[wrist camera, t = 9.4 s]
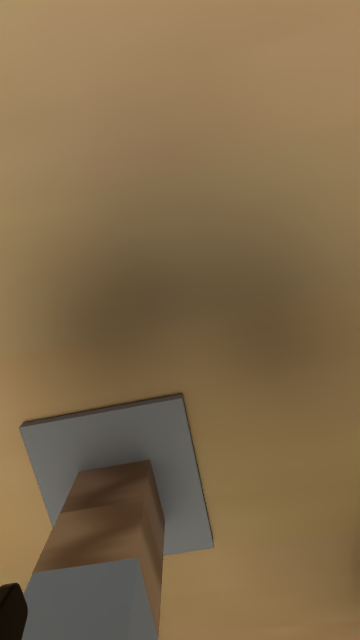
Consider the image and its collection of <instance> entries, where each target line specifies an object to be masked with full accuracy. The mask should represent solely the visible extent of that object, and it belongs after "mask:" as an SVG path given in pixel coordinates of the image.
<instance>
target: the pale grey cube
mask: <svg viewBox="0 0 360 640" xmlns="http://www.w3.org/2000/svg"><path fill="white" fill-rule="evenodd" d="M23 595H24V597H25V600H26V603H27V606H28V616H27V621H26V625H25V628H24V632H23V636H22V640H158V637H157V633H156V629H155V624H154V620H153V616H152V612H151V608H150V604H149V600H148V596H147V592H146V588H145V584H144V580H143V576H142V572H141V568H140V564H139V560H138V558H135V559H127V560H120V561H113V562H106V563H99V564H92V565H84V566H77V567H70V568H63V569H56V570H49V571H41V572H34V573H33V575H32V577H31V579H30V581H29V583H28V586H27V588H26V590H25V592H24V594H23Z"/></svg>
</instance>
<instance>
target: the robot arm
mask: <svg viewBox="0 0 360 640" xmlns="http://www.w3.org/2000/svg"><path fill="white" fill-rule="evenodd" d="M27 616H28V606H27V603H26V600H25V597H24V595H23V592H22V590H21V587H20V585H19V584H18V583H11V584H5V585H2V586H1V587H0V640H22V636H23V632H24V628H25V625H26V621H27Z"/></svg>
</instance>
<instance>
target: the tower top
mask: <svg viewBox="0 0 360 640" xmlns="http://www.w3.org/2000/svg"><path fill="white" fill-rule="evenodd" d="M135 558H138V560H139V564H140V568H141V572H142V576H143V580H144V584H145V588H146V592H147V596H148V600H149V604H150V608H151V612H152V616H153V620H154V624H155V629H156V633H157V637H159V620H160V602H161V585H162V565H161V561H160V557H159V554H158V550H157V546H156V542H155V538H154V534H153V530H152V527H151V523H150V519H149V515H148V511H147V507H146V503H145V500H144V499H142V500H136V501H130V502H124V503H118V504H112V505H106V506H100V507H94V508H88V509H83V510H77V511H71V512H65V513H60V514H59V516H58V518H57V520H56V522H55V525H54V527H53V529H52V531H51V533H50V536H49V538H48V540H47V542H46V544H45V547H44V549H43V551H42V553H41V555H40V557H39V560H38V562H37V564H36V566H35V568H34V571H33V573H34V572H41V571H49V570H56V569H63V568H70V567H77V566H84V565H92V564H99V563H106V562H113V561H120V560H127V559H135ZM33 573H32V575H33Z"/></svg>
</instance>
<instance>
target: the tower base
mask: <svg viewBox="0 0 360 640" xmlns="http://www.w3.org/2000/svg"><path fill="white" fill-rule="evenodd" d="M142 499H144V500H145V503H146V507H147V511H148V515H149V519H150V523H151V527H152V530H153V534H154V538H155V542H156V546H157V550H158V554H159V557H160V561H161V565H162V566H163V549H164V531H165V518H164V514H163V510H162V506H161V502H160V497H159V493H158V489H157V485H156V481H155V477H154V473H153V469H152V465H151V461H150V460H144V461H138V462H133V463H127V464H121V465H115V466H109V467H104V468H98V469H92V470H86V471H81V472H78V474H77V477H76V479H75V481H74V483H73V485H72V487H71V490H70V492H69V494H68V496H67V498H66V501H65V503H64V505H63V507H62V509H61V512H60V513H65V512H71V511H77V510H83V509H88V508H94V507H100V506H106V505H112V504H118V503H124V502H130V501H136V500H142Z"/></svg>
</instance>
